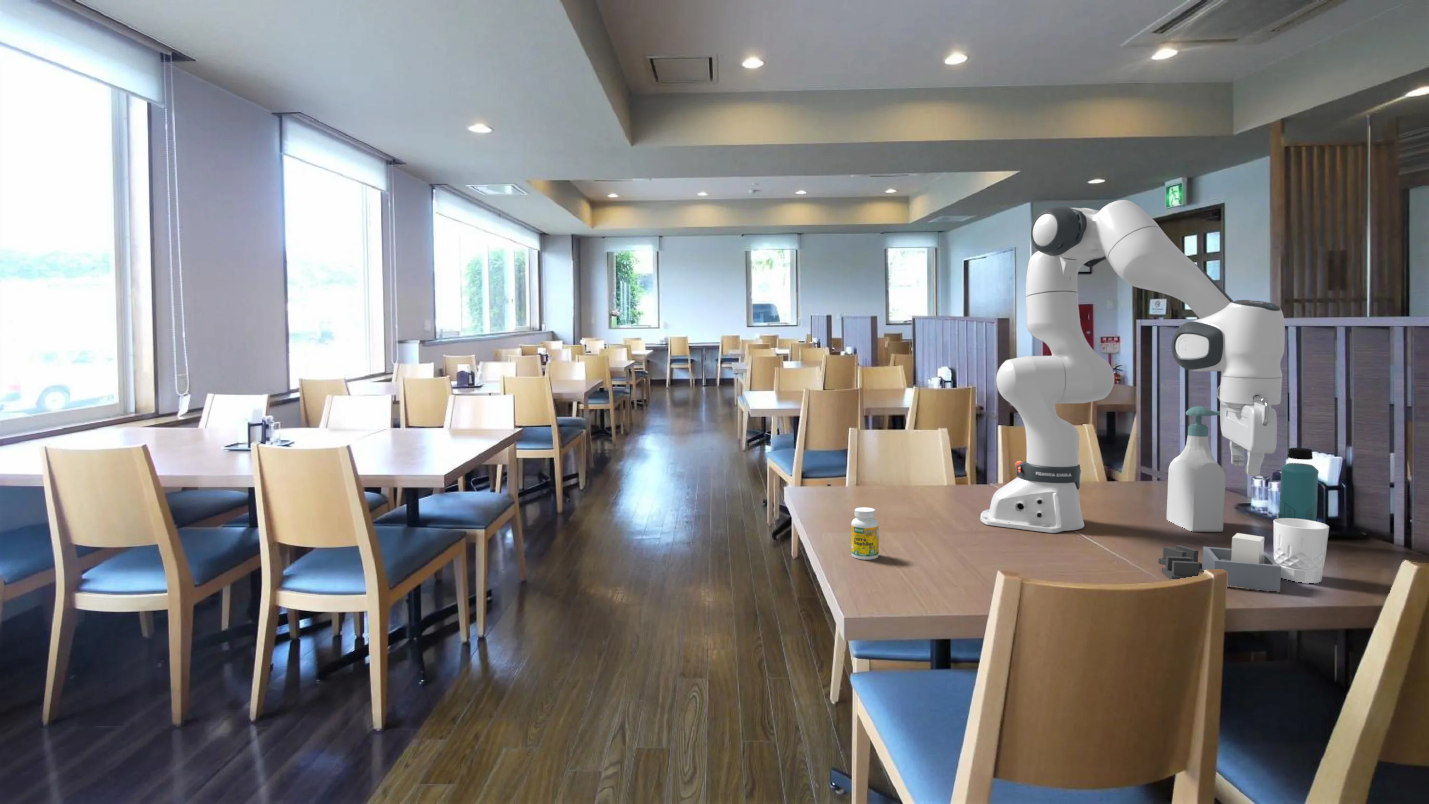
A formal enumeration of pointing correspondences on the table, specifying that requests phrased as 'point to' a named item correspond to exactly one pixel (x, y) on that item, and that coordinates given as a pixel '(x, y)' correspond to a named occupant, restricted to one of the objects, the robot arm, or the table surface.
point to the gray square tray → (1244, 569)
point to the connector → (1247, 548)
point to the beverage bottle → (1299, 487)
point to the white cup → (1300, 548)
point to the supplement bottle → (865, 534)
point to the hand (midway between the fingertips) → (1244, 470)
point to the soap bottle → (1196, 481)
